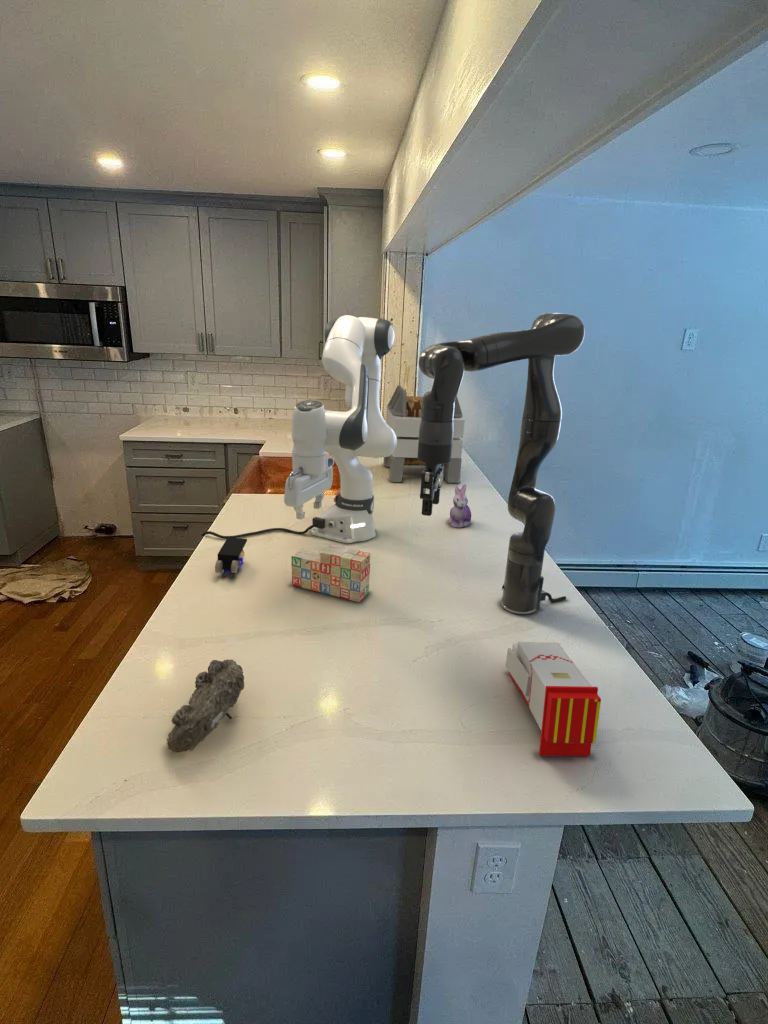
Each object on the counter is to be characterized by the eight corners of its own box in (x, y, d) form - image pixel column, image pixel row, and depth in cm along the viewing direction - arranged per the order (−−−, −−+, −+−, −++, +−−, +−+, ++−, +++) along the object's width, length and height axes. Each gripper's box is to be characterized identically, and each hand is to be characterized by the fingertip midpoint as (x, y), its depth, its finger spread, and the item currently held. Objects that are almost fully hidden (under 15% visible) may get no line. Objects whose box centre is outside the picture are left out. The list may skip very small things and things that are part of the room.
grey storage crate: (382, 463, 289) (386, 382, 275) (445, 464, 293) (451, 384, 279) (390, 482, 257) (394, 392, 243) (460, 483, 261) (468, 394, 247)
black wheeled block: (238, 584, 162) (249, 557, 175) (236, 562, 158) (247, 536, 172) (215, 584, 161) (227, 556, 175) (212, 561, 158) (225, 535, 171)
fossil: (192, 660, 117) (244, 628, 112) (224, 691, 120) (276, 661, 115) (142, 746, 98) (202, 712, 93) (182, 779, 101) (242, 748, 96)
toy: (554, 624, 127) (610, 694, 97) (548, 679, 130) (602, 763, 100) (500, 623, 126) (541, 693, 97) (496, 678, 129) (534, 763, 100)
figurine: (457, 529, 205) (460, 490, 200) (441, 520, 214) (444, 482, 209) (478, 526, 210) (482, 487, 205) (462, 517, 218) (465, 480, 213)
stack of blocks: (291, 585, 160) (290, 545, 156) (302, 576, 165) (302, 537, 161) (360, 602, 152) (361, 560, 148) (369, 592, 158) (371, 552, 154)
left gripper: (299, 475, 139) (300, 527, 144) (337, 457, 157) (336, 504, 162) (277, 471, 141) (278, 523, 146) (316, 454, 159) (316, 500, 164)
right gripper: (446, 448, 117) (440, 521, 123) (457, 435, 130) (451, 502, 136) (411, 444, 119) (407, 517, 125) (425, 432, 132) (421, 498, 138)
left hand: (309, 513), depth 154 cm, fingers open, 8 cm apart
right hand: (430, 509), depth 130 cm, fingers open, 8 cm apart
